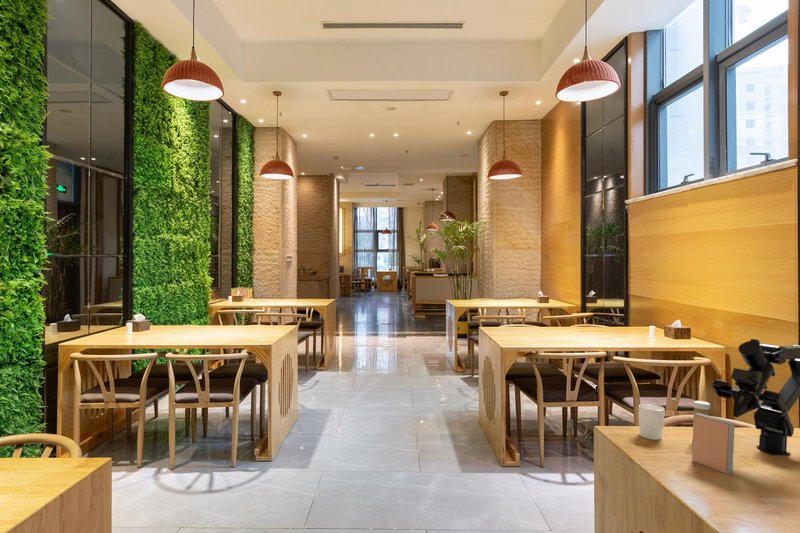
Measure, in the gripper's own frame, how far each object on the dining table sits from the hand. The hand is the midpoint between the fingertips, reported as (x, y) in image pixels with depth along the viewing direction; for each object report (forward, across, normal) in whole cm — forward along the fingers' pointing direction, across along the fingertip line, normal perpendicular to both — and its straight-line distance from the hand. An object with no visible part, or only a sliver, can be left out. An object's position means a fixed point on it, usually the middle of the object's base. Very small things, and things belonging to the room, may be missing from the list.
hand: (735, 416), depth 149 cm
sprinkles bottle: (+5, -14, +14) cm, 21 cm away
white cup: (+12, -24, +7) cm, 28 cm away
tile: (+17, 0, +2) cm, 17 cm away
